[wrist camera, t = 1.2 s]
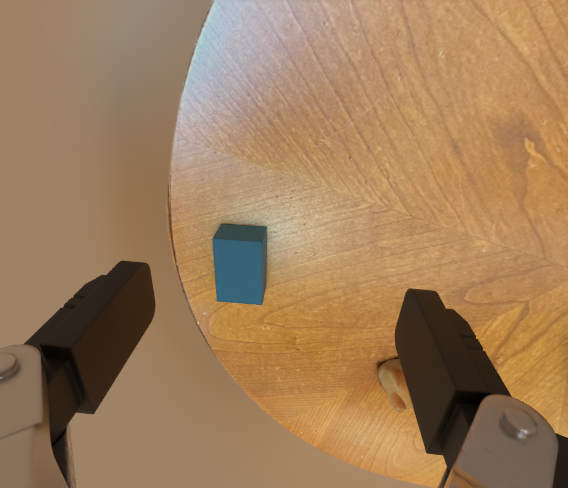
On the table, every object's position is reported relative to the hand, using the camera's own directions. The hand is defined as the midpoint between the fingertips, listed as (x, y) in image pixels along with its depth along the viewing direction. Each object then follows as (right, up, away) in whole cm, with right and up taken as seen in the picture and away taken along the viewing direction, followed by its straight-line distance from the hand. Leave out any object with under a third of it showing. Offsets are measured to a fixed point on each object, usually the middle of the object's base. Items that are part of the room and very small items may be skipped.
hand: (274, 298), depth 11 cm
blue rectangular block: (-4, 0, +24) cm, 24 cm away
